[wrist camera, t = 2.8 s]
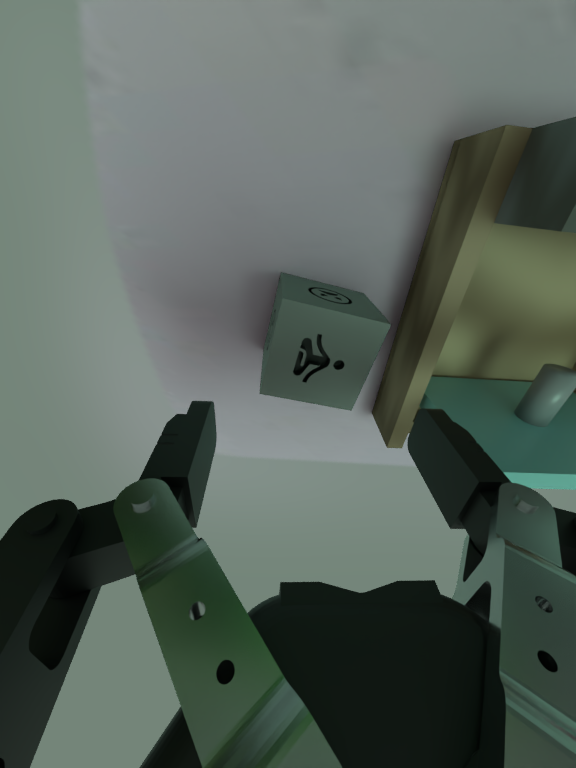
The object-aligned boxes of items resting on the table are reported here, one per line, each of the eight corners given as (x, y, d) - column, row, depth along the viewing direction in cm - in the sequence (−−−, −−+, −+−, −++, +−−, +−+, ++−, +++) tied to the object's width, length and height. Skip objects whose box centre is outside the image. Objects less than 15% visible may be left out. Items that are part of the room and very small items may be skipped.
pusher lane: (454, 140, 13) (593, 97, 8) (715, 171, 14) (1020, 154, 8) (371, 413, 22) (406, 492, 16) (538, 420, 23) (627, 498, 17)
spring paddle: (426, 332, 18) (519, 417, 11) (588, 343, 18) (767, 428, 12) (406, 387, 20) (473, 486, 13) (552, 395, 20) (685, 492, 14)
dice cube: (281, 272, 16) (282, 298, 12) (363, 292, 17) (391, 324, 13) (263, 349, 19) (259, 393, 15) (335, 365, 20) (351, 410, 16)
